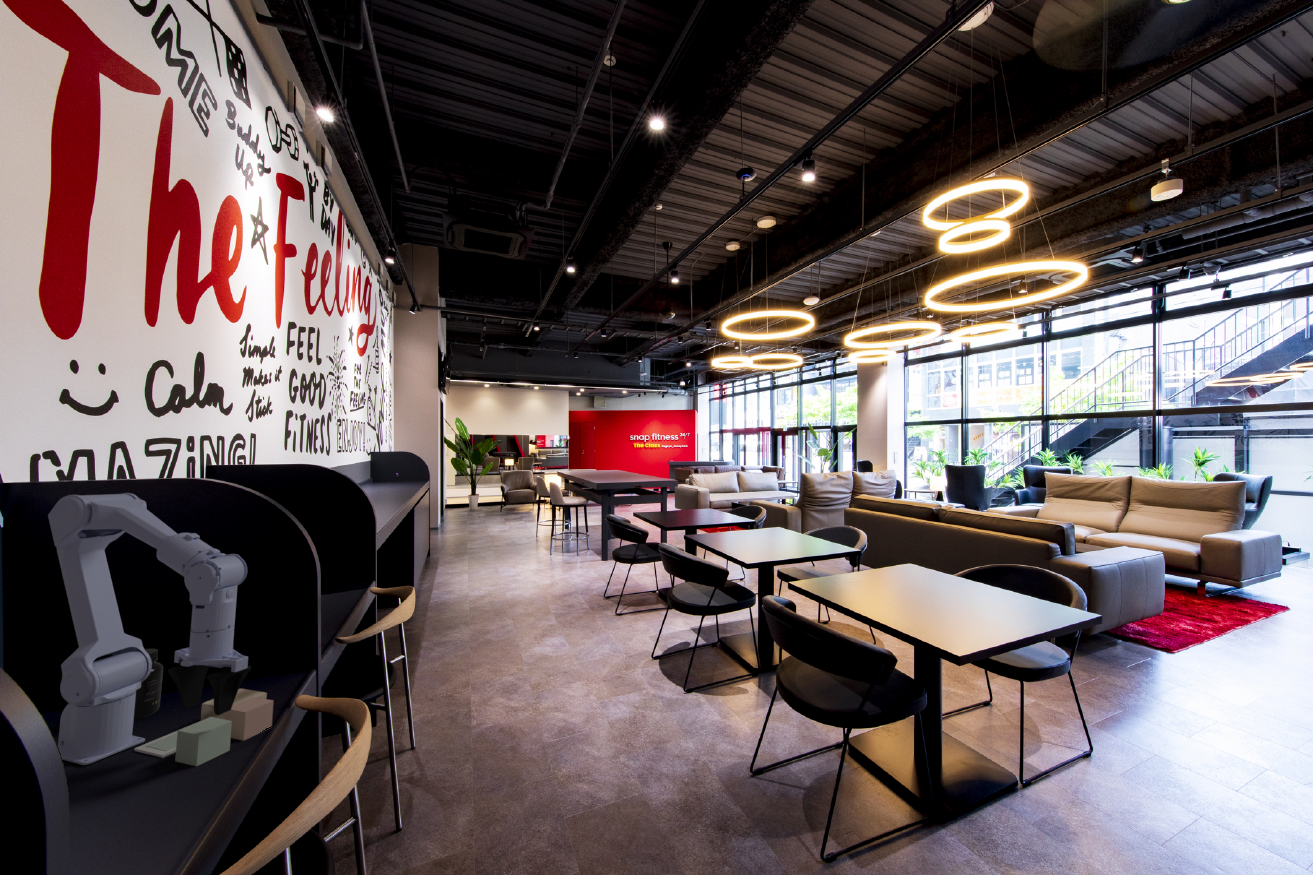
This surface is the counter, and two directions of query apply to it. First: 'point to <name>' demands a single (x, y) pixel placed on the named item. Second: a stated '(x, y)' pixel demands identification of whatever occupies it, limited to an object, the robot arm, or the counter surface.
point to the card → (160, 746)
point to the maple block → (240, 697)
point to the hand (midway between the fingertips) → (206, 709)
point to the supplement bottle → (149, 689)
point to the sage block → (203, 741)
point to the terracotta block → (250, 717)
